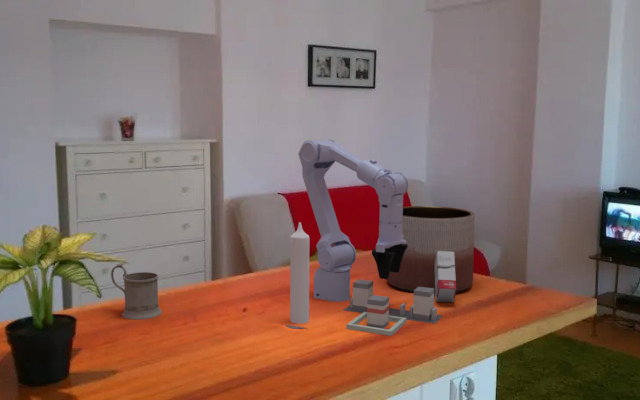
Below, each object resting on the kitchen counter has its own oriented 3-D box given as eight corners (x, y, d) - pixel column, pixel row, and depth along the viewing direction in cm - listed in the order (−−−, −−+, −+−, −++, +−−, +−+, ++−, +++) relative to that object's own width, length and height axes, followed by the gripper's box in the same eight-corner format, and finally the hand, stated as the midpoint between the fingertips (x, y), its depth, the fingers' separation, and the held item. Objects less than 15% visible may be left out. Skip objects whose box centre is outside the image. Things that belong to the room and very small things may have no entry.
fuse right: (412, 318, 161) (413, 290, 160) (417, 313, 165) (418, 286, 164) (428, 320, 159) (429, 292, 159) (433, 316, 163) (434, 288, 162)
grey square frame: (346, 332, 153) (346, 324, 153) (363, 319, 163) (364, 311, 163) (391, 340, 149) (391, 331, 148) (406, 326, 158) (406, 317, 158)
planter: (412, 270, 214) (413, 203, 212) (486, 283, 199) (489, 210, 197) (370, 286, 194) (371, 212, 191) (449, 301, 179) (452, 221, 176)
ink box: (457, 289, 169) (455, 250, 176) (437, 289, 170) (436, 249, 177) (453, 305, 176) (451, 266, 183) (435, 304, 177) (433, 266, 184)
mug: (169, 310, 169) (168, 265, 168) (144, 321, 160) (143, 273, 159) (125, 303, 175) (124, 259, 174) (99, 313, 166) (97, 267, 165)
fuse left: (352, 309, 168) (352, 282, 167) (358, 305, 172) (358, 279, 171) (367, 311, 166) (367, 284, 165) (372, 307, 170) (373, 281, 169)
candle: (318, 321, 161) (319, 220, 158) (308, 330, 154) (308, 225, 151) (291, 318, 163) (291, 219, 160) (280, 327, 157) (280, 223, 153)
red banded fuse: (366, 328, 155) (367, 299, 154) (372, 323, 158) (373, 294, 158) (383, 330, 153) (383, 301, 152) (388, 325, 157) (389, 297, 156)
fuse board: (342, 313, 168) (343, 300, 167) (353, 306, 174) (353, 293, 173) (435, 327, 157) (435, 313, 157) (442, 319, 164) (443, 305, 163)
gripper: (396, 227, 156) (394, 283, 157) (415, 219, 168) (413, 270, 170) (368, 225, 159) (367, 280, 160) (389, 216, 172) (388, 267, 173)
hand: (389, 275), depth 166 cm, fingers open, 7 cm apart
